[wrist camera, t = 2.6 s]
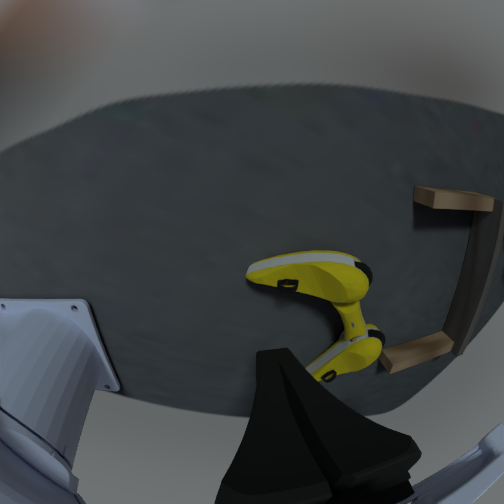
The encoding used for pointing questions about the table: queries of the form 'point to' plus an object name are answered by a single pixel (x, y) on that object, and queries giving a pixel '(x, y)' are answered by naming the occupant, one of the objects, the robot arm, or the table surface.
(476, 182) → the table surface
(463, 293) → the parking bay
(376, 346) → the yellow plastic handheld tool
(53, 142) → the table surface
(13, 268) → the table surface
